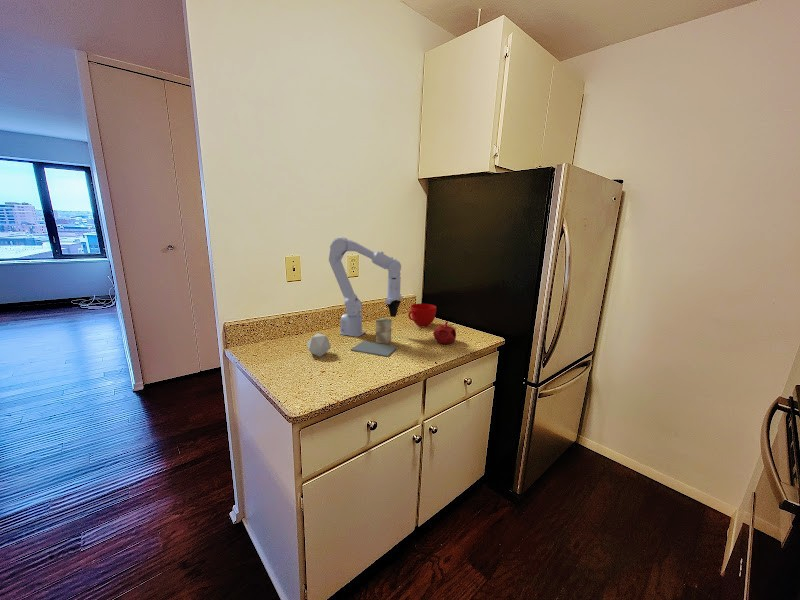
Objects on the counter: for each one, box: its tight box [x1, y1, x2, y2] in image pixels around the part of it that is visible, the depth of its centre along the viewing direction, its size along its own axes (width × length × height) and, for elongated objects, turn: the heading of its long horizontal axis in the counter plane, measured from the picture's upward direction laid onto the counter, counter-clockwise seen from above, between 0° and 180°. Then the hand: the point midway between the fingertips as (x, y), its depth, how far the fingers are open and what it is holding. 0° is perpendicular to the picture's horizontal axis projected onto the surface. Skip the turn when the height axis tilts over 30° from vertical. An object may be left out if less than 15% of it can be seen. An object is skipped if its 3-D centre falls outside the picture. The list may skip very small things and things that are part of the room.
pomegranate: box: [432, 321, 457, 345], centre depth 142 cm, size 10×10×9 cm
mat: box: [350, 340, 399, 358], centre depth 132 cm, size 16×11×1 cm
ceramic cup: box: [407, 303, 437, 328], centre depth 165 cm, size 13×17×10 cm
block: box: [375, 317, 393, 345], centre depth 139 cm, size 5×5×10 cm
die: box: [306, 332, 332, 358], centre depth 124 cm, size 8×9×10 cm
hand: (393, 316), depth 148 cm, fingers closed
